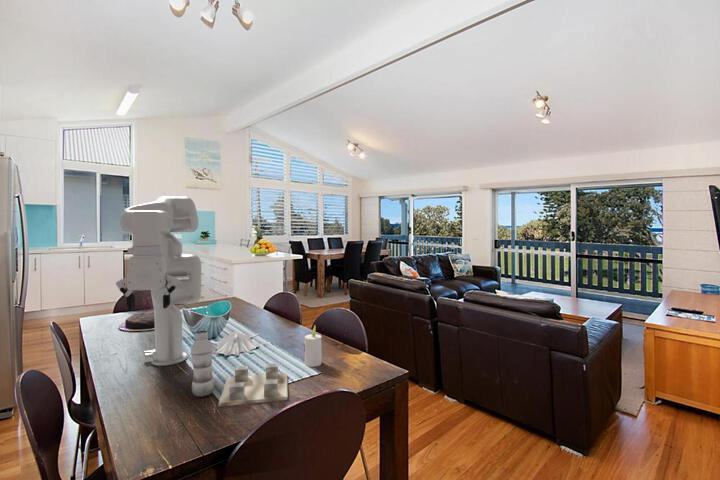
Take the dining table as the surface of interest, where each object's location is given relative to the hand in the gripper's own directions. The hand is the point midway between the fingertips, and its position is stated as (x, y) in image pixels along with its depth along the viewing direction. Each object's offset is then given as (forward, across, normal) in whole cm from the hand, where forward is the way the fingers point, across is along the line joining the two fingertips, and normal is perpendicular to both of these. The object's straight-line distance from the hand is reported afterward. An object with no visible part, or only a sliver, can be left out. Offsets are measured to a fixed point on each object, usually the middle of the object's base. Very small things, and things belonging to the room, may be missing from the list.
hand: (149, 308), depth 110 cm
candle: (+29, +51, +18) cm, 61 cm away
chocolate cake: (+29, -29, +89) cm, 98 cm away
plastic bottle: (+29, +15, 0) cm, 32 cm away
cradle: (+28, +31, 0) cm, 42 cm away
